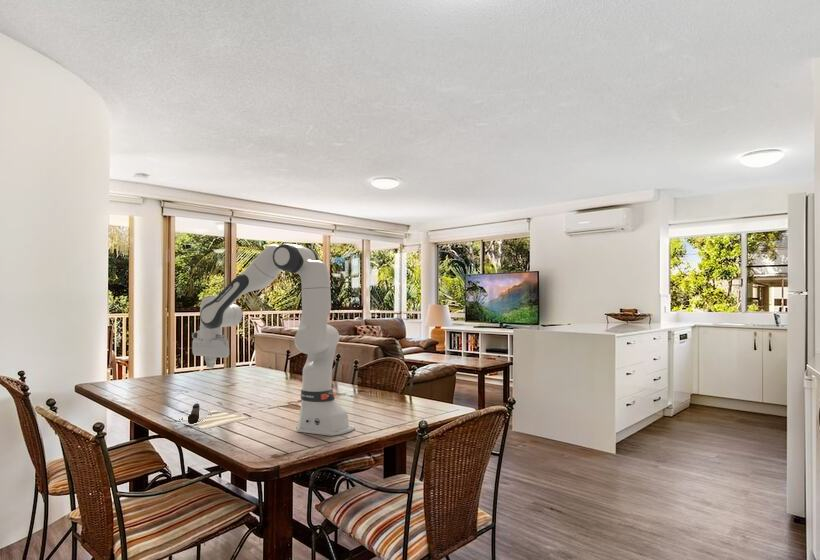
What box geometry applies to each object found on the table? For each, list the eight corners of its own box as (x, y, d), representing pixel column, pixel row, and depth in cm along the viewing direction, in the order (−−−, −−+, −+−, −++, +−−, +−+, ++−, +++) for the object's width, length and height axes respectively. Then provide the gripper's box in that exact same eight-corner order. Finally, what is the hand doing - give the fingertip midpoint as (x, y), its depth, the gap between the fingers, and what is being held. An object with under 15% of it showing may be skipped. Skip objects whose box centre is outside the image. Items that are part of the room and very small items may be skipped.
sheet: (251, 420, 201) (251, 417, 201) (203, 431, 182) (203, 429, 182) (209, 411, 216) (209, 409, 216) (160, 421, 197) (160, 418, 197)
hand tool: (198, 423, 190) (199, 411, 190) (187, 424, 189) (187, 412, 189) (203, 413, 208) (204, 402, 208) (193, 413, 207) (193, 402, 207)
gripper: (233, 334, 204) (232, 368, 203) (202, 333, 214) (202, 365, 214) (220, 335, 198) (219, 369, 197) (189, 334, 209) (188, 366, 208)
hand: (210, 367), depth 206 cm, fingers closed
